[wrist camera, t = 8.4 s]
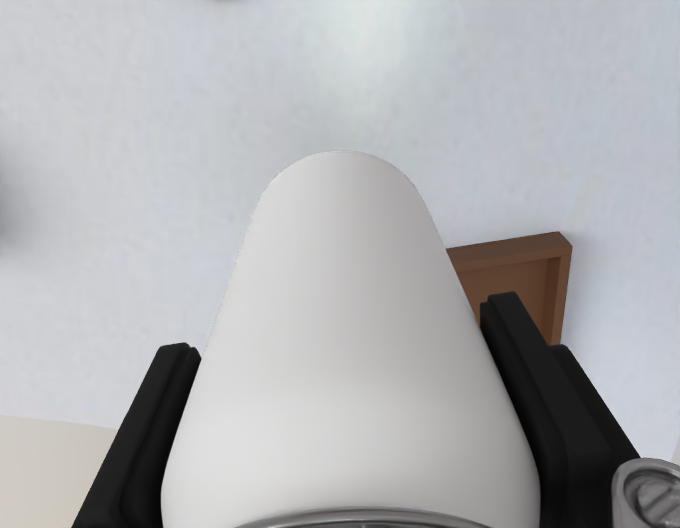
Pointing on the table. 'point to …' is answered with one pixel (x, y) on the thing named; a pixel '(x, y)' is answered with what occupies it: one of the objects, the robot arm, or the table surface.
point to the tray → (519, 276)
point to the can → (347, 374)
